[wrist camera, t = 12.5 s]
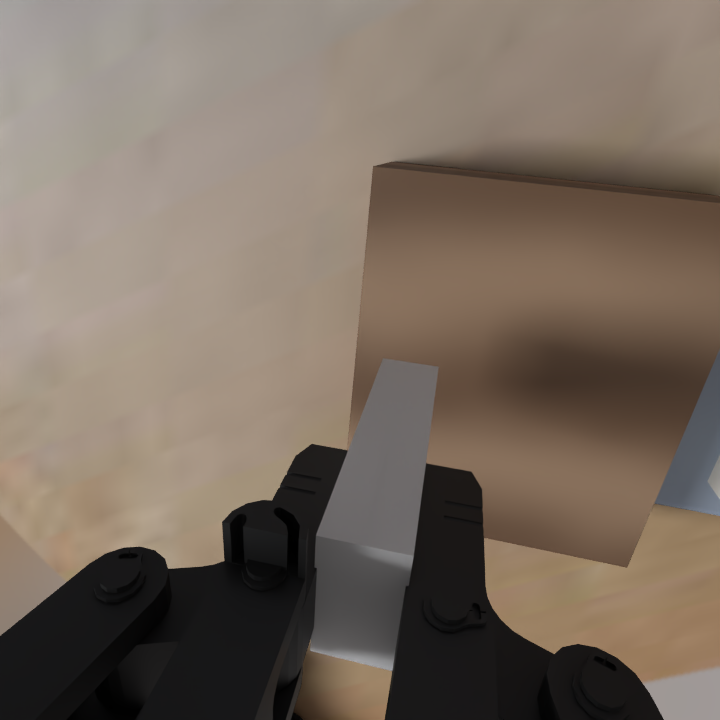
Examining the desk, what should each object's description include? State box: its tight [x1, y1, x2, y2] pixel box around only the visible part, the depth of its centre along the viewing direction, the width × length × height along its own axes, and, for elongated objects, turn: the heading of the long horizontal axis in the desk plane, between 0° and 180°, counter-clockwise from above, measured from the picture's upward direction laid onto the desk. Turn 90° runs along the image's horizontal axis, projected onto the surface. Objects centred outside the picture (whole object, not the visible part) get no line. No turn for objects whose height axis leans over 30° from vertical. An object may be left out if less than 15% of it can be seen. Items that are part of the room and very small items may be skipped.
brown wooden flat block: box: [347, 162, 720, 567], centre depth 19 cm, size 13×11×4 cm
